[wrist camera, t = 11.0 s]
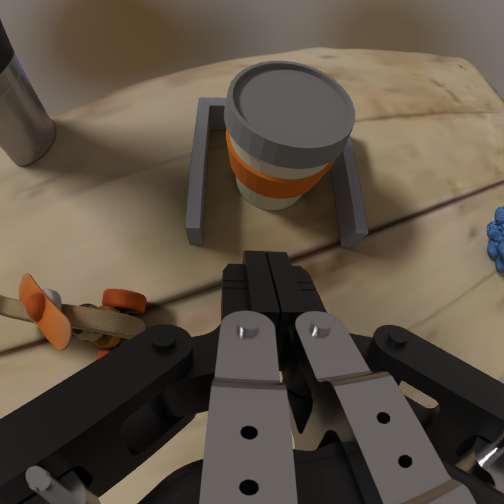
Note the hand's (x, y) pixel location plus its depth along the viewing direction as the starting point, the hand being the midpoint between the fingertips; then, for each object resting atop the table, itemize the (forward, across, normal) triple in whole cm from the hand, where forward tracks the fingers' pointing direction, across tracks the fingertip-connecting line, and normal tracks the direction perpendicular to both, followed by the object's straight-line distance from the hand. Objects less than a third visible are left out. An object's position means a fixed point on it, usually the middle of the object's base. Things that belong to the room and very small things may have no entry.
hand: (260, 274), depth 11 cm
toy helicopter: (+16, +18, +18) cm, 30 cm away
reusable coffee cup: (+30, -5, +4) cm, 31 cm away
